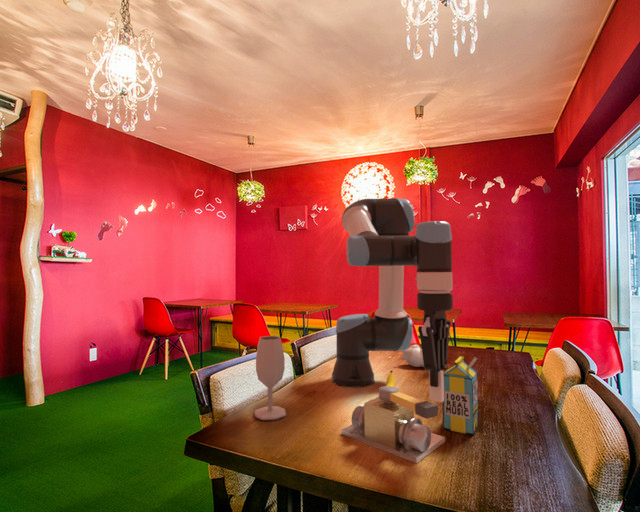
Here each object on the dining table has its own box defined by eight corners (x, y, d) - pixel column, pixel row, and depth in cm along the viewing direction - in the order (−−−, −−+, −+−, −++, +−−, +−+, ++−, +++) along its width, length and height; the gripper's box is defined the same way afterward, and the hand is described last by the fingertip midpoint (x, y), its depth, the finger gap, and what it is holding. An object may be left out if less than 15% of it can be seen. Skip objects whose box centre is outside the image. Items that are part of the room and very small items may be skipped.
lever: (375, 397, 85) (375, 388, 85) (389, 393, 87) (389, 385, 87) (424, 419, 72) (424, 409, 72) (440, 414, 74) (439, 404, 74)
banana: (378, 410, 104) (378, 387, 104) (387, 389, 122) (387, 370, 122) (389, 411, 103) (388, 388, 103) (396, 390, 121) (396, 370, 121)
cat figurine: (440, 344, 150) (403, 338, 154) (440, 358, 143) (401, 351, 147) (438, 361, 154) (402, 355, 159) (437, 375, 148) (399, 368, 152)
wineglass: (259, 424, 95) (259, 341, 96) (250, 412, 103) (250, 336, 104) (291, 417, 99) (290, 338, 100) (279, 407, 107) (279, 334, 108)
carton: (477, 437, 86) (475, 359, 87) (443, 430, 90) (441, 355, 91) (482, 426, 92) (480, 353, 93) (450, 419, 97) (448, 350, 97)
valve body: (341, 434, 89) (340, 393, 89) (372, 418, 98) (372, 381, 98) (416, 463, 75) (415, 414, 75) (445, 441, 84) (444, 398, 85)
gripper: (429, 290, 89) (431, 389, 88) (405, 292, 79) (407, 405, 78) (461, 290, 84) (464, 395, 83) (440, 294, 74) (442, 413, 73)
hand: (436, 400), depth 80 cm, fingers closed
